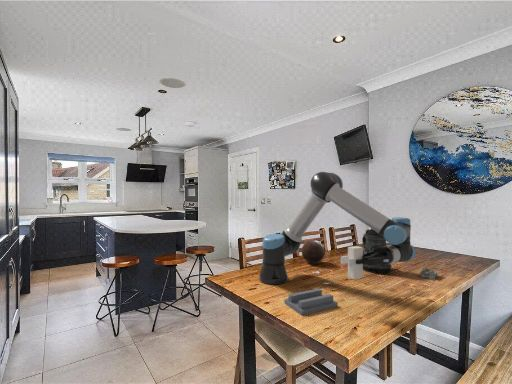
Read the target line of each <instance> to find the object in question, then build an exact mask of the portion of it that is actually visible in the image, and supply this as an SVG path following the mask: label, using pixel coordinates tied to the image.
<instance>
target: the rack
mask: <svg viewBox="0 0 512 384" xmlns="http://www.w3.org/2000/svg"><path fill="white" fill-rule="evenodd" d="M287 295H288V297H287V298H285V299H284V300H283V301H284V304H285V305H286V306H288V307H289V308H290V309H292V310H293V311H294V312H296V313H297V314H299V315H300V316H303V315H307V314H309V315H310V314H312V313H316V312H320V311H325V310H329V309H333V308H337V307H338V306H339V305H338V302H337V301H335V300H334V295H332V294H330V293H327V294H323V289H321V288H314V289H310V290H306V291H304V290H303V291H300V292H295V293H289V294H287Z"/></svg>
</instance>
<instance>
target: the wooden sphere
mask: <svg viewBox="0 0 512 384" xmlns="http://www.w3.org/2000/svg"><path fill="white" fill-rule="evenodd" d="M301 254H302V255H301V256H302V258H303V259H304V260H305V261H306V262H307V263H309V264H318V263H320V262H321V261H323V259H324V258H325V255H326V251H325V246H324V245H323V244H322V243H321V242H320V241H319V240H316V239H315V240H314V239H309V240H308V241H305V242H304V244H303V245H302V247H301Z"/></svg>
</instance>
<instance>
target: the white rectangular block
mask: <svg viewBox="0 0 512 384" xmlns="http://www.w3.org/2000/svg"><path fill="white" fill-rule="evenodd" d="M363 251H364V246H363V247H362V246H359V245H355V246H353V245H352V246H348V247H347V256H348V259H350V258H357V257H362V256H363ZM363 272H364V270H363V264H360V265H354V266H348V265H347V278H349V279H351V280H358V279H363V275H364V273H363Z"/></svg>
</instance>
